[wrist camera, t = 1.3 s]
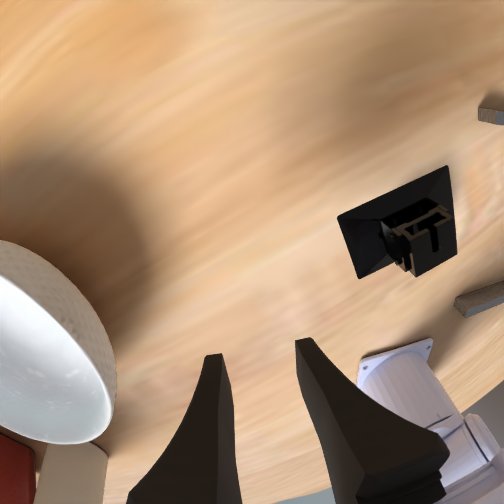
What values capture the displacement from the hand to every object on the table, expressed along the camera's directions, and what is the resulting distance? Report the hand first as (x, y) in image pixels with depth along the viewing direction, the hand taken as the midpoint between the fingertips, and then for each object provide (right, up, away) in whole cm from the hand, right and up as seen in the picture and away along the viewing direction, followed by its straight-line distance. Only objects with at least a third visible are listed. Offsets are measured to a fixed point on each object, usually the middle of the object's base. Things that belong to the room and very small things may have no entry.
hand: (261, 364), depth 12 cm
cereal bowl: (-18, 0, +9) cm, 20 cm away
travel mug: (-22, -20, +18) cm, 35 cm away
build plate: (+10, +7, +9) cm, 16 cm away
